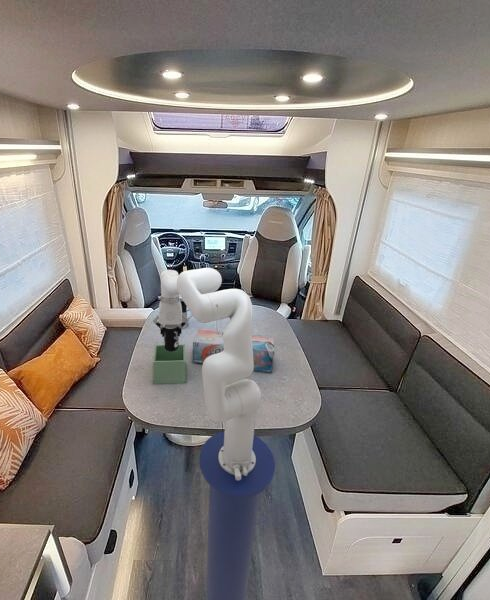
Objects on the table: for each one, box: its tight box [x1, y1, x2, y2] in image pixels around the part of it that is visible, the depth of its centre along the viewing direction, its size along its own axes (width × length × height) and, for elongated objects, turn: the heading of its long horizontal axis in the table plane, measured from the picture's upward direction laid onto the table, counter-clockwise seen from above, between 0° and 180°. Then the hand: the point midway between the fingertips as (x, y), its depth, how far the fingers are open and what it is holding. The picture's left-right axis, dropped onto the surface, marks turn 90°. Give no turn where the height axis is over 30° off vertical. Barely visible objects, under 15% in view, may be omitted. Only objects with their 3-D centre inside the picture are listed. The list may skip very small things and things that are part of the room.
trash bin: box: [152, 343, 187, 384], centre depth 149 cm, size 15×15×12 cm
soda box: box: [191, 329, 275, 374], centre depth 160 cm, size 41×14×13 cm, turn 80°
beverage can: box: [163, 325, 180, 351], centre depth 141 cm, size 7×7×12 cm
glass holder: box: [177, 300, 193, 329], centre depth 196 cm, size 9×14×15 cm, turn 105°
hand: (171, 334), depth 141 cm, fingers closed on beverage can, 6 cm apart
